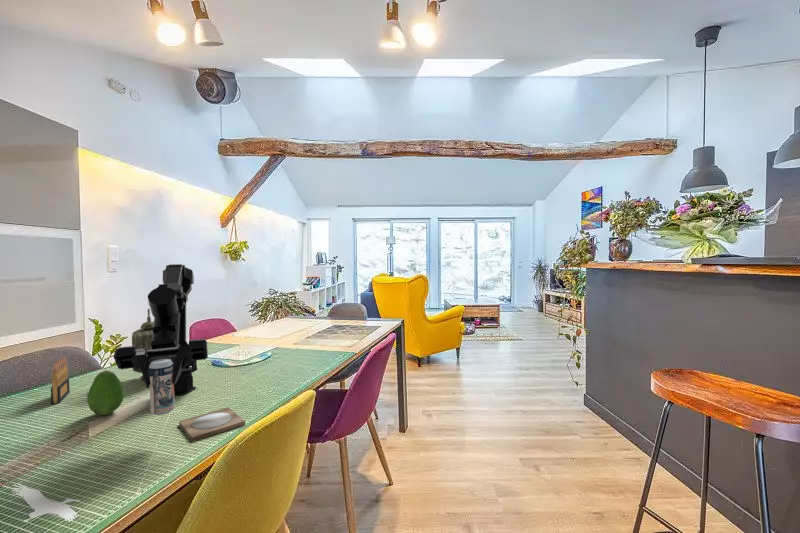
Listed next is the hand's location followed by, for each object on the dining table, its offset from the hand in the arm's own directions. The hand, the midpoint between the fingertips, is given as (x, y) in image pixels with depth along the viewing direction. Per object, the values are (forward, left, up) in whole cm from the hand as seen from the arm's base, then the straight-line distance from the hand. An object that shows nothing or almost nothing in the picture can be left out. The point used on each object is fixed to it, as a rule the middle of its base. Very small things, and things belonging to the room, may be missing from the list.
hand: (161, 385), depth 84 cm
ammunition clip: (-55, +18, -13) cm, 59 cm away
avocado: (-29, +11, -13) cm, 34 cm away
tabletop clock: (-43, +38, -13) cm, 59 cm away
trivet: (+5, +10, -13) cm, 17 cm away
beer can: (-1, +1, -7) cm, 7 cm away
